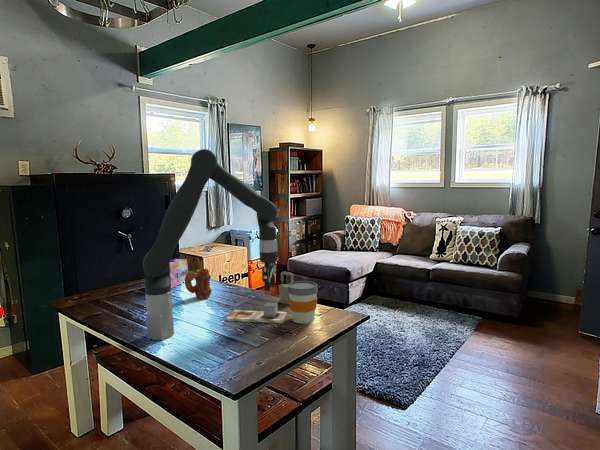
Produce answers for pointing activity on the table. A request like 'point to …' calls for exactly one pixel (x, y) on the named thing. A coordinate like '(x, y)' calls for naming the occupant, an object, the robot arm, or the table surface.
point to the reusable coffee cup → (302, 300)
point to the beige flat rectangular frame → (254, 316)
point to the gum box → (178, 271)
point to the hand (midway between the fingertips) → (270, 287)
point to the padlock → (284, 288)
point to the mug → (199, 283)
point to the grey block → (270, 310)
